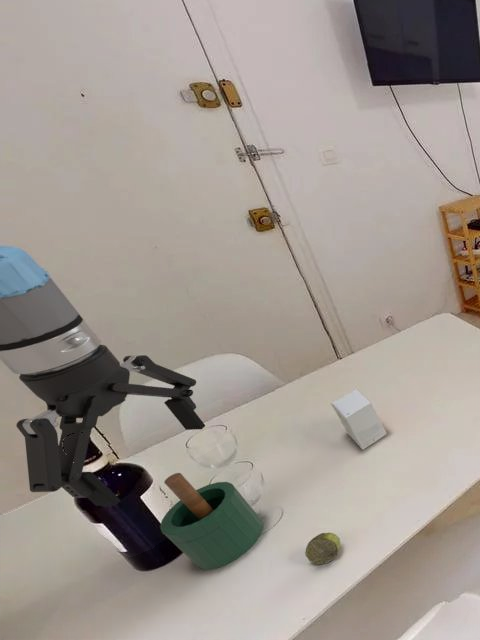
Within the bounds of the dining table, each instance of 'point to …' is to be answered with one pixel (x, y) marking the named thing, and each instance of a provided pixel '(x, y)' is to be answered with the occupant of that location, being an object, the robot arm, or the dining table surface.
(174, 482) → the brown and grey pestle
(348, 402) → the small box
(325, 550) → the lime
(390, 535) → the dining table surface
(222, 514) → the green tube ring
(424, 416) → the dining table surface
